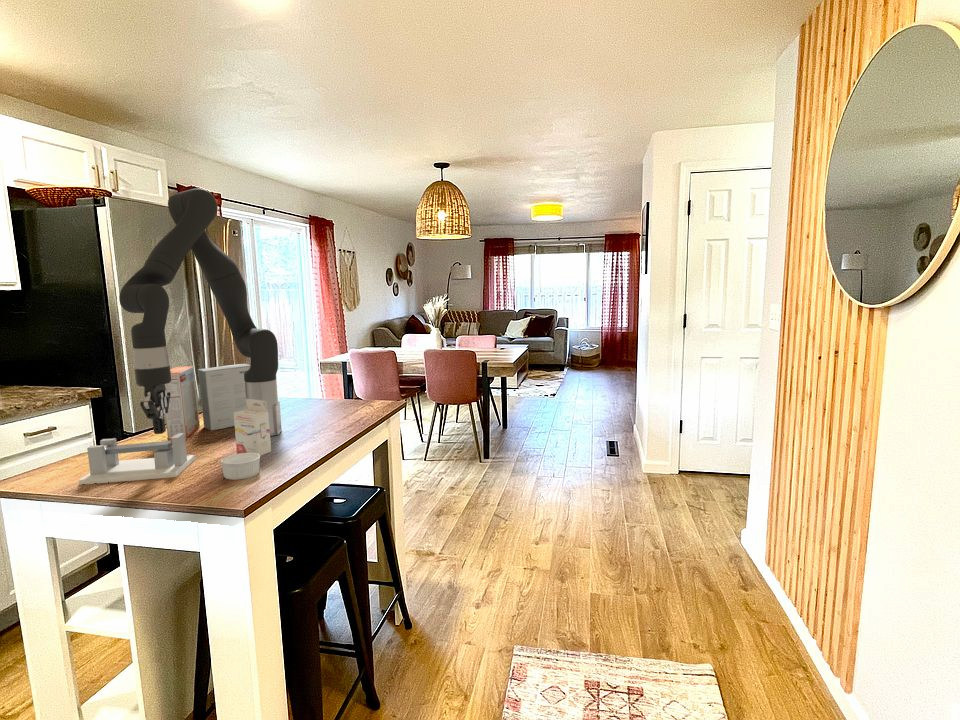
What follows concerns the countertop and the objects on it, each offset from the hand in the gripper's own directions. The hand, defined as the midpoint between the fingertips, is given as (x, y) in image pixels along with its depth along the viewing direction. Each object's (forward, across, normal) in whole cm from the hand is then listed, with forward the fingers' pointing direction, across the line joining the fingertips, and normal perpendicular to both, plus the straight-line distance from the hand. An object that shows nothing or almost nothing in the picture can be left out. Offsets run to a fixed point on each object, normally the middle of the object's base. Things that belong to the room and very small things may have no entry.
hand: (160, 432), depth 132 cm
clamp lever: (+4, 0, +6) cm, 8 cm away
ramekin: (+10, -9, -21) cm, 25 cm away
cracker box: (+10, +37, +7) cm, 39 cm away
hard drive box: (+10, +45, -5) cm, 46 cm away
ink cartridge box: (+10, +9, -20) cm, 24 cm away
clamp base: (+10, 0, +5) cm, 11 cm away
